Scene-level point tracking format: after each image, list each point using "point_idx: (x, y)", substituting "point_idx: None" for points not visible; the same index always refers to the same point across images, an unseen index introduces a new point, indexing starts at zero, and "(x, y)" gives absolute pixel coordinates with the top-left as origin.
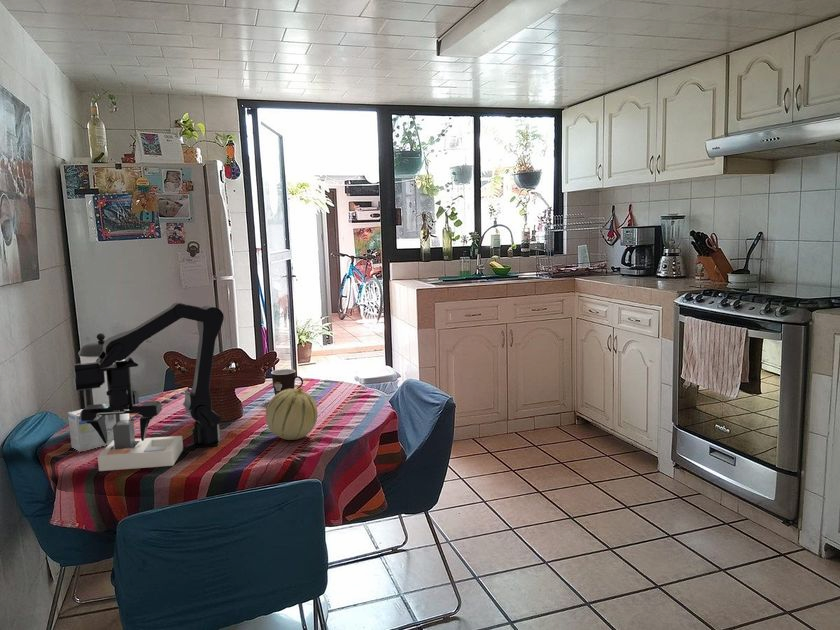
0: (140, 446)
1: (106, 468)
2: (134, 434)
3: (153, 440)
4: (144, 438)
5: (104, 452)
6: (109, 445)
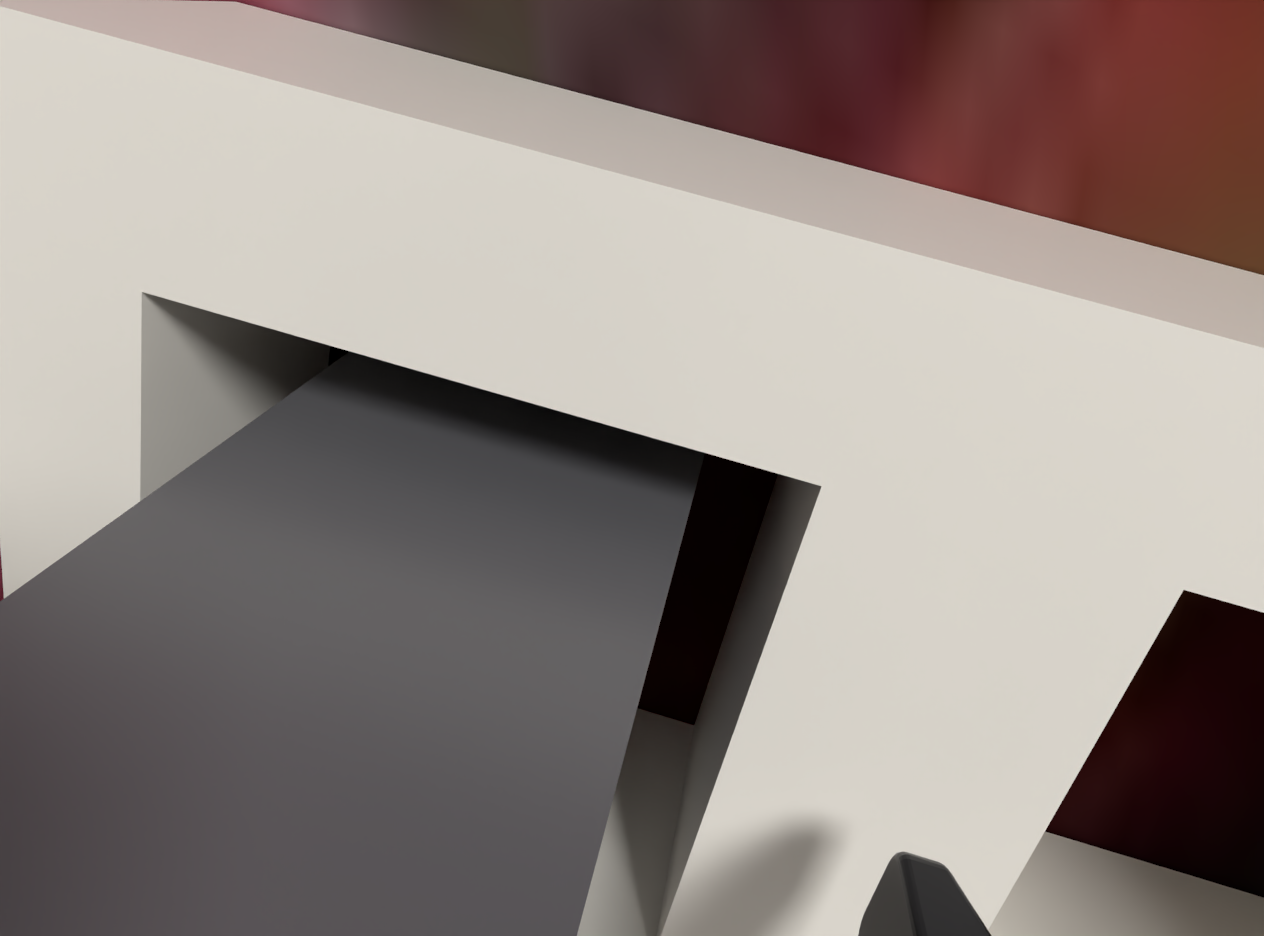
0: (811, 926)
1: None
2: (634, 718)
3: (1232, 598)
4: (957, 900)
5: None
6: (31, 478)
